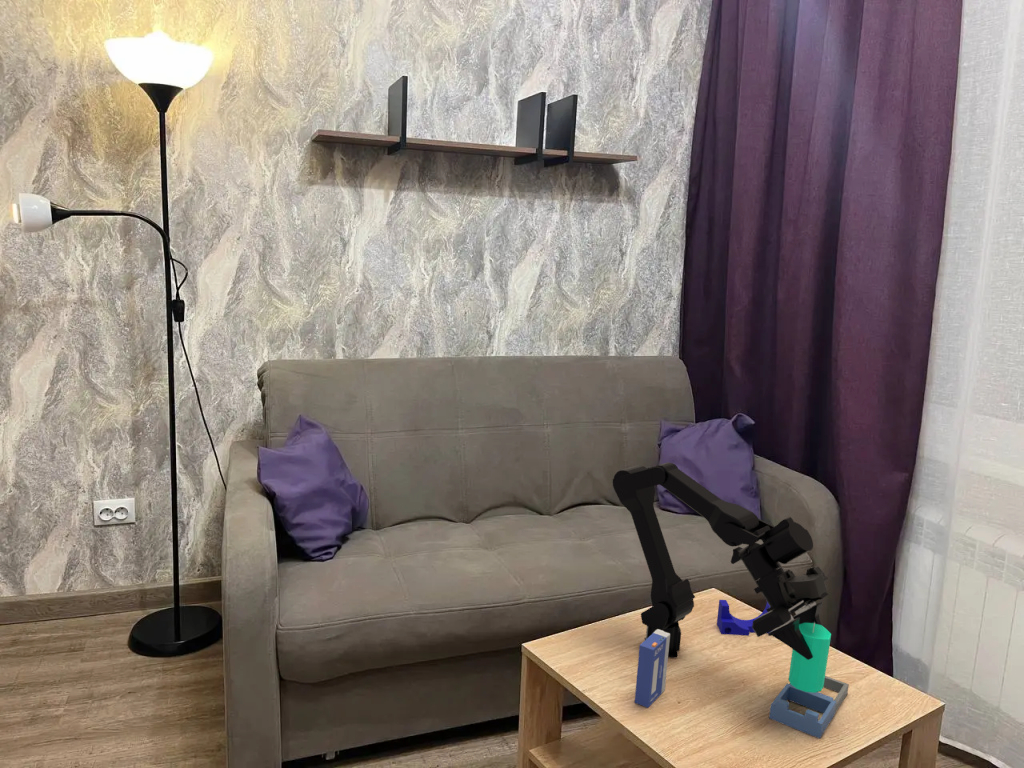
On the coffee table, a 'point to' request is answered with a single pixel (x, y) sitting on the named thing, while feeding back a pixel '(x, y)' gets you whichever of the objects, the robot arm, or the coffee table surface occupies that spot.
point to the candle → (813, 670)
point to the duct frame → (810, 700)
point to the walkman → (652, 668)
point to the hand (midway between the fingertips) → (817, 653)
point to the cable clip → (734, 621)
